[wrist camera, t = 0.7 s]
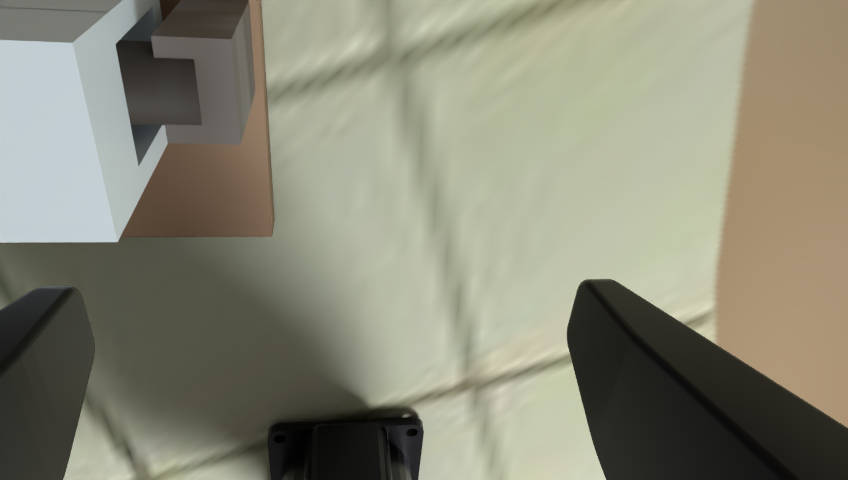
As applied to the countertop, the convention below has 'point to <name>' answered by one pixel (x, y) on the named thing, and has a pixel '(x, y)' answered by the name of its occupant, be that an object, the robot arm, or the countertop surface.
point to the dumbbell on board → (203, 120)
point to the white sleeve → (71, 120)
